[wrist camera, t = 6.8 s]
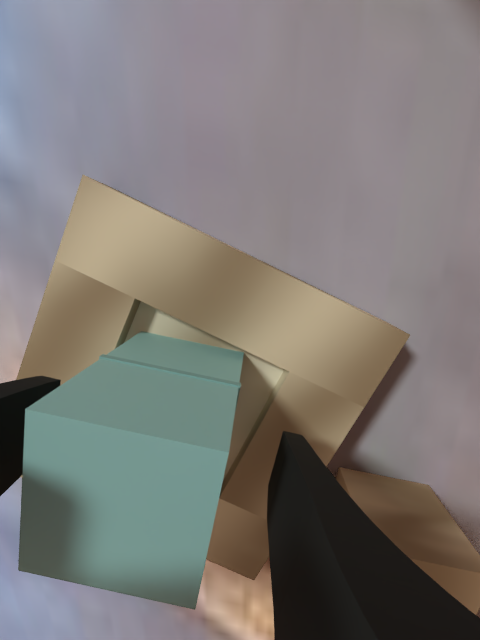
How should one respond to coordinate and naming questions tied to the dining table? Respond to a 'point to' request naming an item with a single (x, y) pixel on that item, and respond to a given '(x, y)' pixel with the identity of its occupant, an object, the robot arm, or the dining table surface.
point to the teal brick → (130, 469)
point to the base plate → (212, 341)
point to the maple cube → (419, 530)
